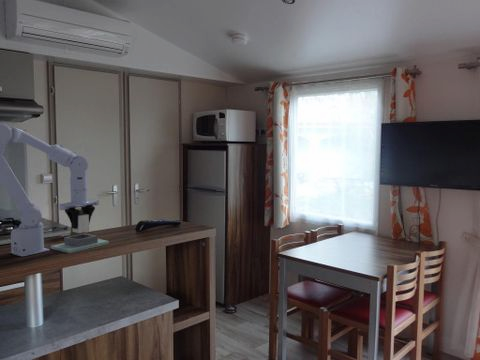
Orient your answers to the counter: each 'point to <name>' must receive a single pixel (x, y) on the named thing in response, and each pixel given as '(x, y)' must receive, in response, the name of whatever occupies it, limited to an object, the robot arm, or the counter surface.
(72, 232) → the cork
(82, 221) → the plug
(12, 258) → the counter surface
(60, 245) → the socket
